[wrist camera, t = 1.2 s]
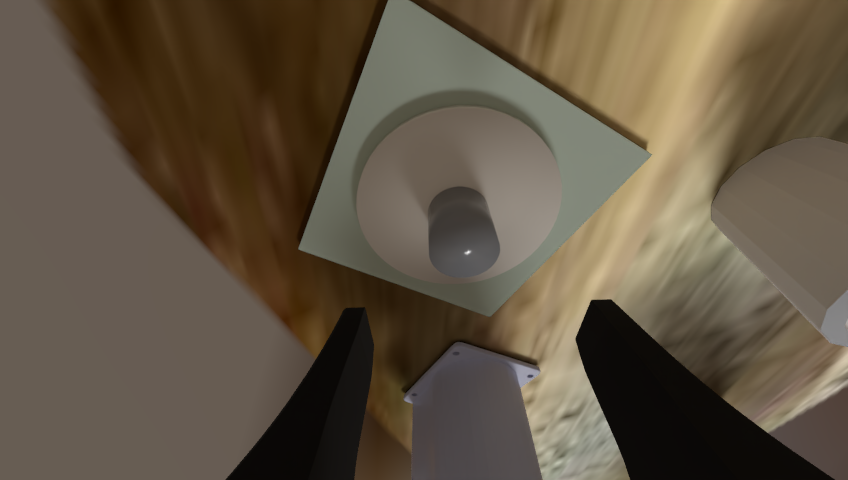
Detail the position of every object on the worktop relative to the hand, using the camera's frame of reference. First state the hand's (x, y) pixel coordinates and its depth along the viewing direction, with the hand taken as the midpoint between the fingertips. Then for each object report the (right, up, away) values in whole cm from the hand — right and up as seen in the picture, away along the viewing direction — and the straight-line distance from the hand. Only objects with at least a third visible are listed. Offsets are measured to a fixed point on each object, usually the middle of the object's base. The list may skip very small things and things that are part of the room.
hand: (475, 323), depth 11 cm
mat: (0, +5, +6) cm, 8 cm away
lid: (0, +4, +6) cm, 7 cm away
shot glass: (+16, +5, +6) cm, 18 cm away
